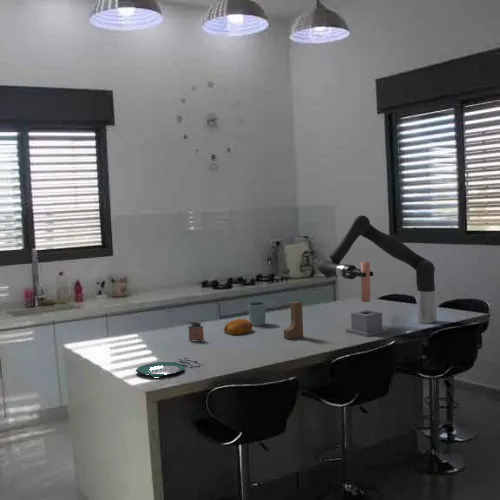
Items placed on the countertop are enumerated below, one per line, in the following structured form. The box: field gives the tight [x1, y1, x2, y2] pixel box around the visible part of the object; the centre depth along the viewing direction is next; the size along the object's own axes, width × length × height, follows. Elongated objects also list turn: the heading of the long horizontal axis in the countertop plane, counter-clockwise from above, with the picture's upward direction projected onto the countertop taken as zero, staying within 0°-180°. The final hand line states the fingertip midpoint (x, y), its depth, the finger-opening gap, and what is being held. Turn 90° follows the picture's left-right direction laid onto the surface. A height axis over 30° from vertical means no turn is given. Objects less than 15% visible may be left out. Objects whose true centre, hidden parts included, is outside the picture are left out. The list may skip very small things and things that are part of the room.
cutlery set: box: [135, 357, 199, 378], centre depth 272 cm, size 20×30×2 cm, turn 133°
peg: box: [360, 261, 371, 303], centre depth 324 cm, size 4×4×20 cm
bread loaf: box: [223, 318, 253, 336], centre depth 340 cm, size 14×16×8 cm
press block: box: [345, 309, 389, 338], centre depth 326 cm, size 15×15×10 cm
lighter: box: [187, 320, 205, 342], centre depth 323 cm, size 8×3×10 cm, turn 71°
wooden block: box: [283, 300, 304, 340], centre depth 320 cm, size 9×4×18 cm, turn 118°
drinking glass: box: [247, 301, 267, 327], centre depth 357 cm, size 10×10×12 cm
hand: (369, 274), depth 322 cm, fingers closed on peg, 4 cm apart
